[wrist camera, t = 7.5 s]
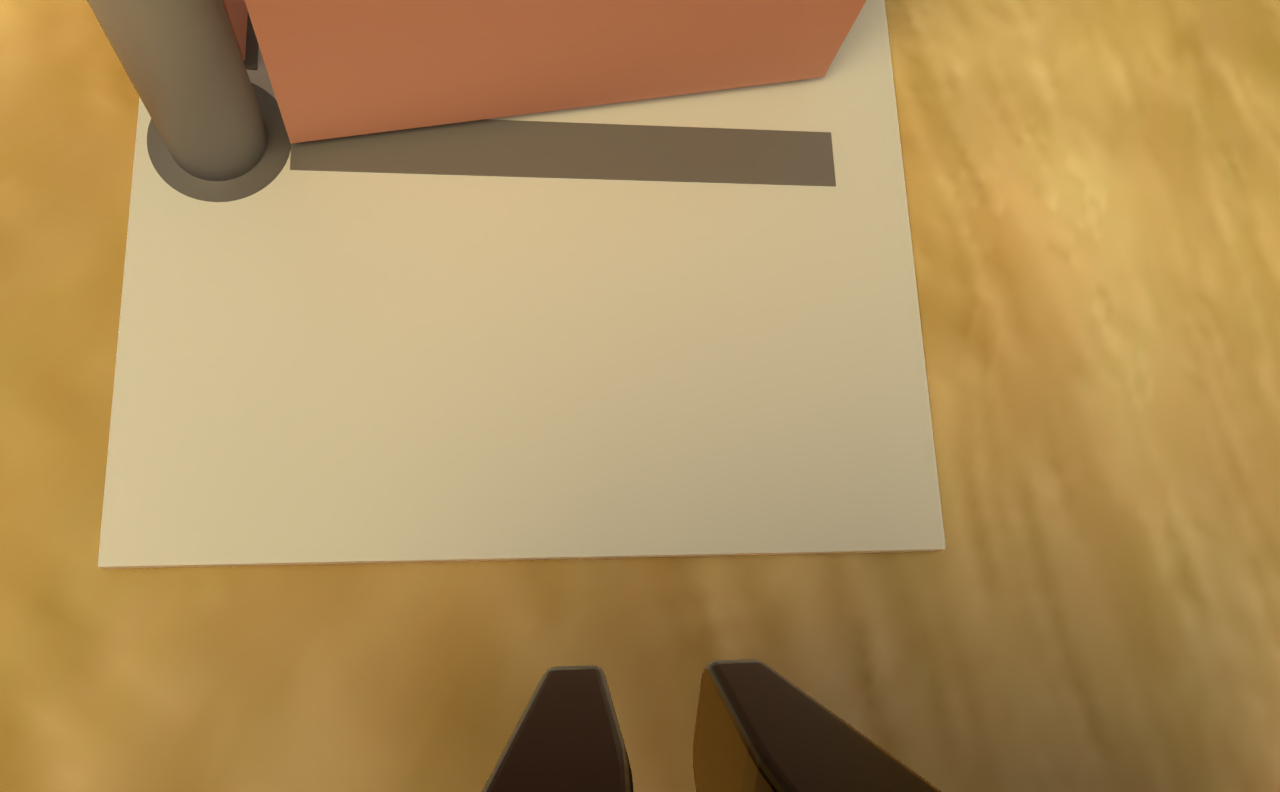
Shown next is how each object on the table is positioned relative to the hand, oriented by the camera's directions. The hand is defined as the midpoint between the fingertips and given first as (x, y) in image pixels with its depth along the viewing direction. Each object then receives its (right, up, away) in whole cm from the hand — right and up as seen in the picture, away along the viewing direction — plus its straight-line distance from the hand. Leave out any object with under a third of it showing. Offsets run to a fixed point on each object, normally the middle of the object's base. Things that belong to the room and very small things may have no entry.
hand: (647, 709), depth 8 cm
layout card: (-2, +7, +14) cm, 16 cm away
